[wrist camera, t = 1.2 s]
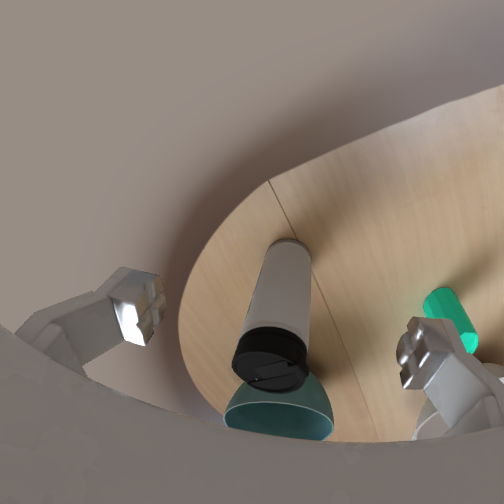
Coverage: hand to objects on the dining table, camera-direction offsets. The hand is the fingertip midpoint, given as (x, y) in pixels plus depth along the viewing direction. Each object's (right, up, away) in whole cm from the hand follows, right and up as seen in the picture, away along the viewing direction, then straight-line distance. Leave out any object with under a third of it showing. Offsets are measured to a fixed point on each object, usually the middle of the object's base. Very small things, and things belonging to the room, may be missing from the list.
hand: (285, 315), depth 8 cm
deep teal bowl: (+6, -21, +41) cm, 47 cm away
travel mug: (+4, +1, +30) cm, 30 cm away
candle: (+29, -6, +28) cm, 40 cm away
